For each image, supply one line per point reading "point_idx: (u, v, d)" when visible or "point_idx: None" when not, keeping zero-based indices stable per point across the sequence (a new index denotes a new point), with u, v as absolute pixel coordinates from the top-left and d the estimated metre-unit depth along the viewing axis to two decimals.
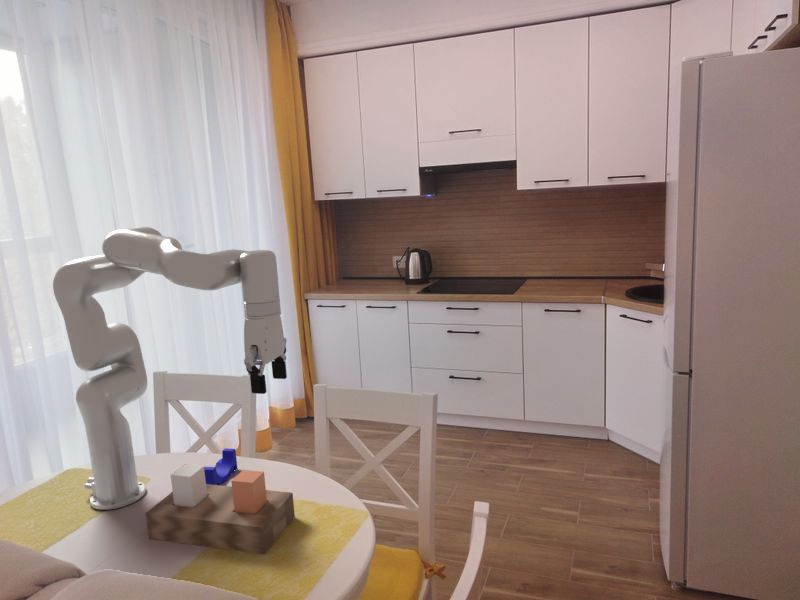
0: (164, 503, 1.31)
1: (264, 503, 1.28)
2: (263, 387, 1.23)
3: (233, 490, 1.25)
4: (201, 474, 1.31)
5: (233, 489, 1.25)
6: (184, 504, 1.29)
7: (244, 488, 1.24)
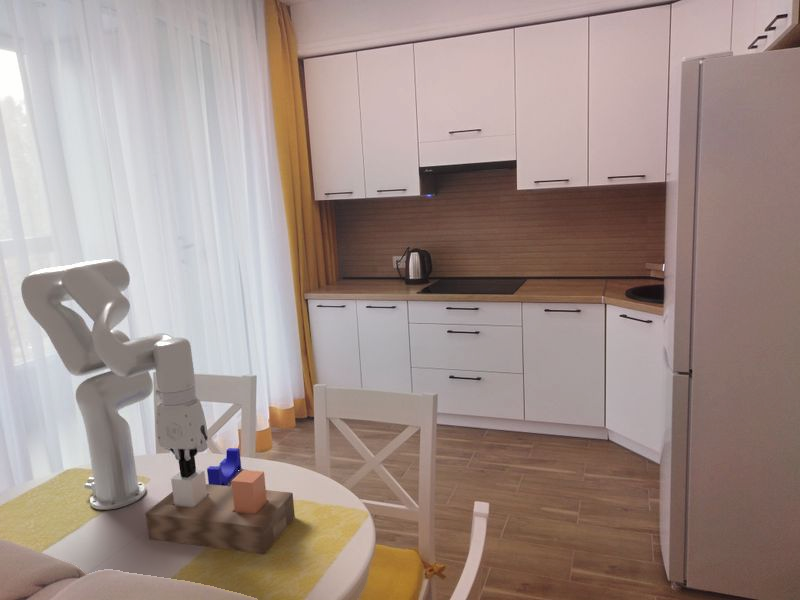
0: (164, 503, 1.31)
1: (264, 503, 1.28)
2: None
3: (233, 490, 1.25)
4: (201, 478, 1.31)
5: (233, 489, 1.25)
6: None
7: (244, 488, 1.24)
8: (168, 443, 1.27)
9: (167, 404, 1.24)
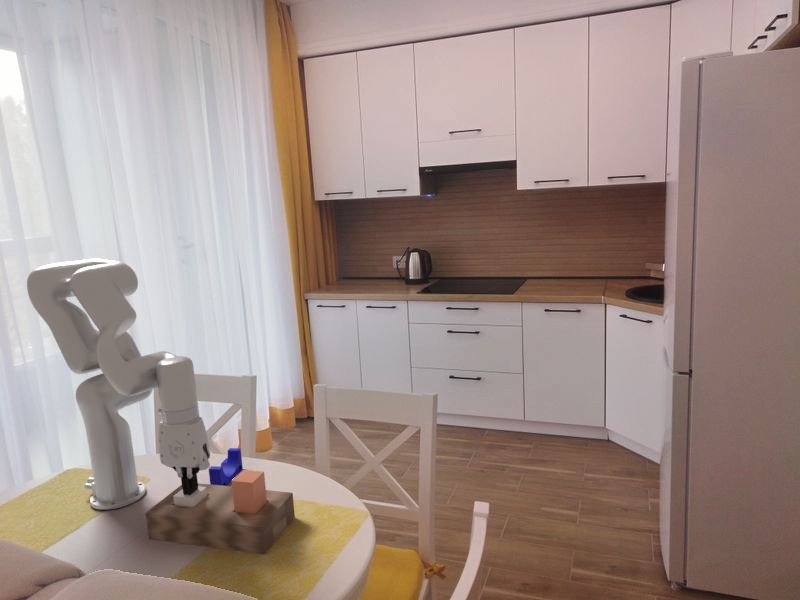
0: (164, 503, 1.31)
1: (264, 503, 1.28)
2: None
3: (233, 490, 1.25)
4: (204, 495, 1.32)
5: (233, 489, 1.25)
6: None
7: (244, 488, 1.24)
8: (170, 461, 1.28)
9: (170, 423, 1.25)
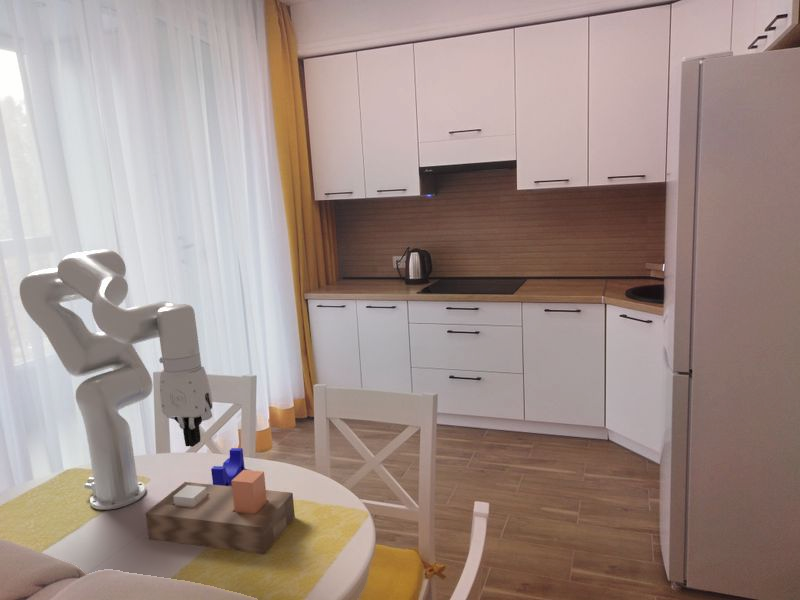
0: (164, 503, 1.31)
1: (264, 503, 1.28)
2: None
3: (233, 490, 1.25)
4: (204, 495, 1.32)
5: (233, 489, 1.25)
6: None
7: (244, 488, 1.24)
8: (172, 411, 1.25)
9: (171, 371, 1.22)
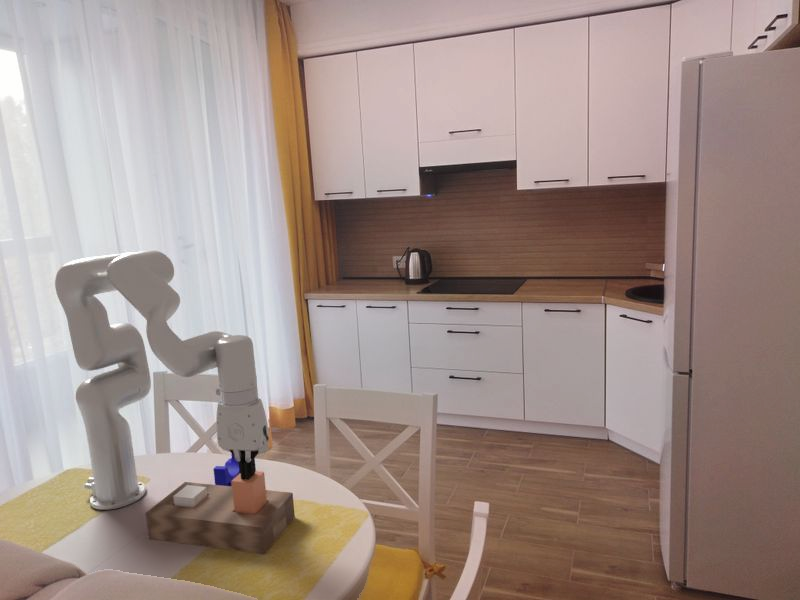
0: (164, 503, 1.31)
1: (264, 503, 1.28)
2: None
3: (233, 490, 1.25)
4: (204, 495, 1.32)
5: (233, 489, 1.25)
6: None
7: (244, 488, 1.24)
8: (229, 444, 1.23)
9: (230, 404, 1.20)
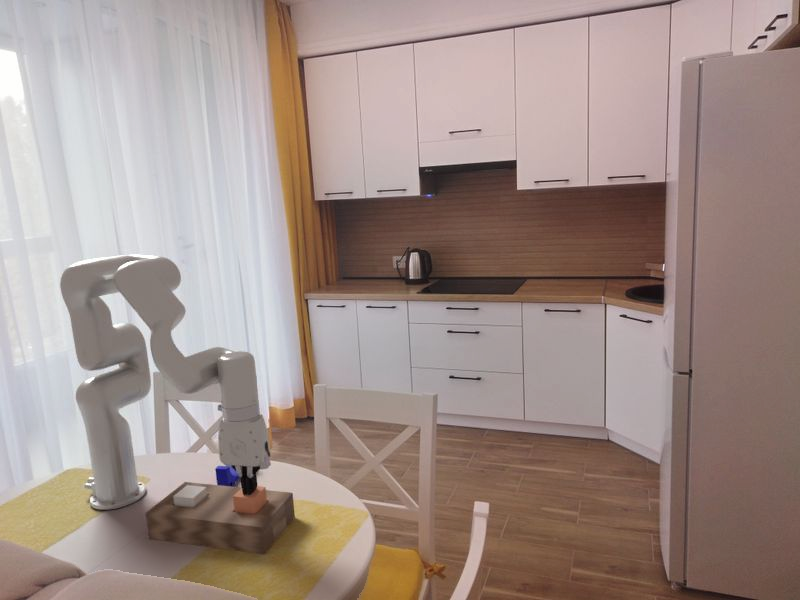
0: (164, 503, 1.31)
1: None
2: None
3: (235, 505, 1.26)
4: (204, 495, 1.32)
5: (235, 504, 1.26)
6: None
7: (245, 503, 1.25)
8: (231, 460, 1.23)
9: (231, 420, 1.20)
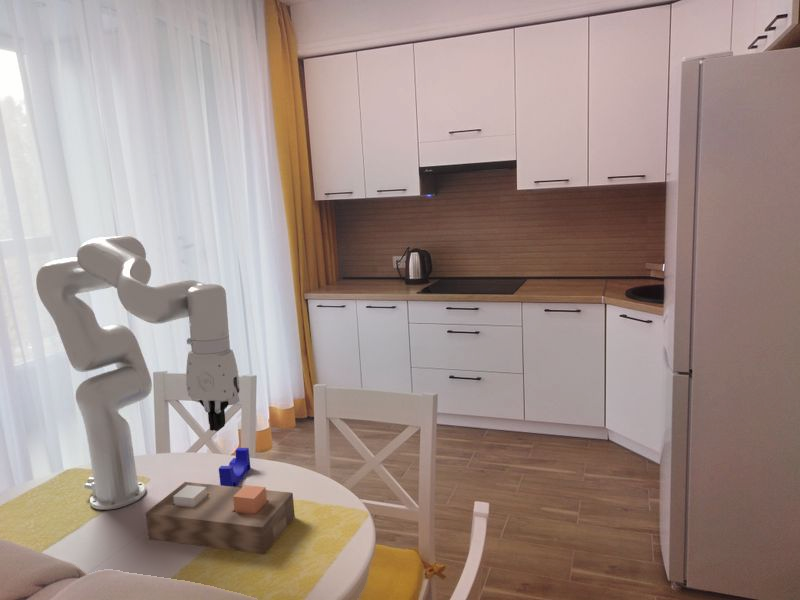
0: (164, 503, 1.31)
1: None
2: None
3: (235, 506, 1.26)
4: (204, 495, 1.32)
5: (235, 505, 1.26)
6: None
7: (245, 504, 1.25)
8: (198, 394, 1.21)
9: (200, 353, 1.18)
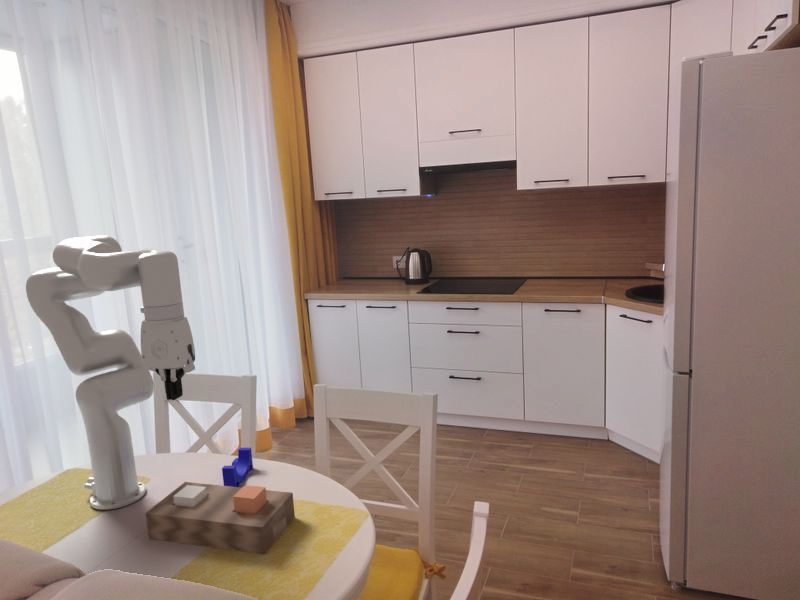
0: (164, 503, 1.31)
1: None
2: None
3: (235, 506, 1.26)
4: (204, 495, 1.32)
5: (235, 505, 1.26)
6: None
7: (245, 504, 1.25)
8: (153, 362, 1.20)
9: (152, 319, 1.17)
